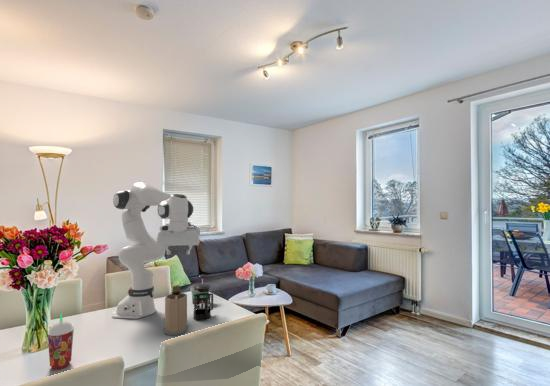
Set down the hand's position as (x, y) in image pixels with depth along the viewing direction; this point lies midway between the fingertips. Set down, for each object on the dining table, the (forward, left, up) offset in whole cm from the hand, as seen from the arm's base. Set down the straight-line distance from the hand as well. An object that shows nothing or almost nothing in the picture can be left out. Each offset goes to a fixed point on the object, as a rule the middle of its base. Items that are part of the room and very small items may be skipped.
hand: (178, 254), depth 153 cm
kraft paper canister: (0, -1, -37) cm, 37 cm away
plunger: (0, -2, -31) cm, 32 cm away
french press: (+11, +14, -37) cm, 41 cm away
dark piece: (+6, +36, -37) cm, 52 cm away
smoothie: (-38, -29, -37) cm, 61 cm away
